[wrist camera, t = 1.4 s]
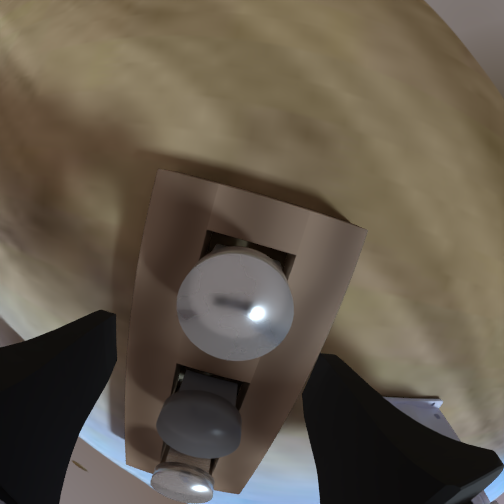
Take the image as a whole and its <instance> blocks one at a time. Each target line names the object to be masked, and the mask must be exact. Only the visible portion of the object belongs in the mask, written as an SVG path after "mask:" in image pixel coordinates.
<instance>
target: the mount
mask: <svg viewBox="0 0 504 504" xmlns="http://www.w3.org/2000/svg"><path fill="white" fill-rule="evenodd" d="M213 231H214V232H218V233H221V234H225V235H228V236H232V237H235V238H239V239H242V240H246V241H249V242H253V243H256V244H259V245H263V246H266V247H270V248H273V249H277V250H280V251H284V252H287V256H286V259H285V262H284V265H283V268H282V271H283V273H284V275H285V277H286V279H287V281H288V285H289V288H290V291H291V295H292V298H293V304H294V315H293V321H292V324H291V327H290V330H289V332H288V334H287V335H286V337H285V338H284V340H283V341H282V342H281V343H280V344H279V345H278V346H277V347H276V348H275V349H273V350H272V351H270V352H269V353H267V354H265V355H263V356H261V357H258V358H255V359H251V360H245V361H230V360H224V359H220V358H217V357H214V356H212V355H209V354H207V353H206V352H204V351H202V350H201V349H199V348H198V347H197V346H195V345H194V344H193V343H192V342H191V341H190V339H189V338H188V337H187V336H186V334H185V333H184V331H183V329H182V327H181V325H180V322H179V319H178V315H177V296H178V292H179V289H180V286H181V284H182V282H183V281H184V279H185V278H186V276H187V275H188V273H189V272H190V271H191V270H192V268H193V267H194V266H195V265H196V263H197V262H198V261H199V260H200V259H202V258H203V257H204V256H206V255H207V251H208V247H209V243H210V239H211V235H212V232H213ZM367 232H368V230H366V229H364V228H362V227H359V226H357V225H355V224H352V223H349V222H347V221H344V220H341V219H338V218H335V217H332V216H329V215H326V214H323V213H320V212H317V211H313V210H310V209H307V208H304V207H301V206H298V205H295V204H291V203H288V202H285V201H282V200H278V199H275V198H272V197H268V196H265V195H261V194H258V193H254V192H251V191H247V190H244V189H240V188H237V187H233V186H230V185H226V184H222V183H218V182H215V181H211V180H207V179H203V178H199V177H195V176H191V175H187V174H183V173H179V172H175V171H170V170H163V169H158V171H157V175H156V179H155V183H154V187H153V191H152V195H151V199H150V204H149V208H148V213H147V218H146V222H145V227H144V232H143V237H142V243H141V248H140V254H139V259H138V265H137V272H136V278H135V285H134V292H133V300H132V308H131V316H130V325H129V336H128V348H127V362H126V380H125V453H126V464H127V465H129V466H132V467H134V468H137V469H140V470H143V471H146V472H149V473H152V474H153V473H154V470H155V467H156V466H157V465H158V464H160V463H163V462H166V459H167V455H168V452H169V449H170V446H169V445H167V444H166V443H165V442H164V441H163V440H162V438H161V437H160V435H159V434H158V431H157V428H156V423H157V419H158V417H159V414H160V412H161V409H162V407H163V404H164V402H165V400H166V399H167V398H168V397H169V396H171V395H172V394H174V393H176V392H179V389H180V388H177V383H178V378H179V373H180V368H181V365H184V366H187V367H191V368H194V369H197V370H201V371H204V372H208V373H212V374H215V375H219V376H223V377H227V378H231V379H235V380H239V381H243V383H242V385H241V388H240V391H239V393H238V396H237V399H236V408H237V409H238V411H239V413H240V415H241V418H242V427H241V441H240V445H239V447H238V448H237V449H236V450H235V451H234V452H233V453H231V454H229V455H227V456H224V457H220V458H211V462H210V468H209V474H210V475H211V476H212V477H213V479H214V490H217V491H222V492H228V493H234V494H240V492H241V491H242V489H243V488H244V487H245V485H246V484H247V482H248V481H249V479H250V478H251V476H252V475H253V473H254V471H255V470H256V468H257V467H258V465H259V464H260V462H261V461H262V459H263V457H264V456H265V454H266V452H267V451H268V449H269V448H270V446H271V444H272V443H273V441H274V439H275V437H276V436H277V434H278V432H279V431H280V429H281V427H282V425H283V424H284V422H285V420H286V418H287V416H288V415H289V413H290V411H291V409H292V407H293V405H294V403H295V402H296V400H297V398H298V396H299V394H300V392H301V390H302V388H303V386H304V384H305V382H306V380H307V378H308V376H309V374H310V372H311V370H312V368H313V366H314V364H315V362H316V360H317V358H318V356H319V353H320V351H321V349H322V347H323V345H324V343H325V340H326V338H327V336H328V334H329V331H330V329H331V327H332V324H333V322H334V320H335V317H336V315H337V313H338V310H339V308H340V305H341V303H342V301H343V298H344V296H345V293H346V290H347V288H348V285H349V283H350V280H351V278H352V275H353V272H354V270H355V267H356V264H357V261H358V259H359V256H360V253H361V250H362V247H363V244H364V241H365V238H366V235H367Z"/></svg>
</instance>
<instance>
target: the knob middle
mask: <svg viewBox="0 0 504 504" xmlns="http://www.w3.org/2000/svg"><path fill="white" fill-rule="evenodd" d="M237 387H238V384H237V383H233V382H229V381H225V380H221V379H217V378H214V377H210V376H206V375H203V374H199V373H196V372H192V371H189V370H186V373H185V375H184V378H183V381H182V383H181V386H180V389H179V392H176V393H174V394H172V395H171V396H169V397H168V398H167V399H166V400H165V402H164V404H163V407H162V409H161V412H160V414H159V417H158V419H157V423H156V428H157V431H158V434H159V435H160V437H161V438H162V440H163V441H164V442H165V443H166V444H168V445H169V446H170V447H172V448H173V449H175V450H177V451H179V452H181V453H183V454H186V455H189V456H193V457H197V458H206V459H211V458H220V457H224V456H227V455H229V454H231V453H233V452H234V451H235V450H236V449H237V448H238V447H239V445H240V441H241V427H242V418H241V415H240V413H239V411H238V409H237V408H236V397H237Z"/></svg>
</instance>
